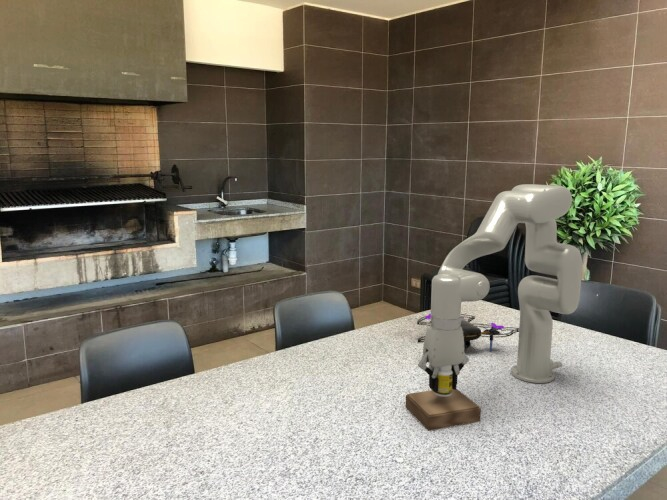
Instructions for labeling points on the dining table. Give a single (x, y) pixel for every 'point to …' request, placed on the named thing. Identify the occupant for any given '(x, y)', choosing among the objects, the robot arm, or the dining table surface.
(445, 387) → the supplement bottle
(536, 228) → the robot arm
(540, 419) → the dining table surface
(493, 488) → the dining table surface
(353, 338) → the dining table surface
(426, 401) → the walnut stand
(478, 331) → the drone
